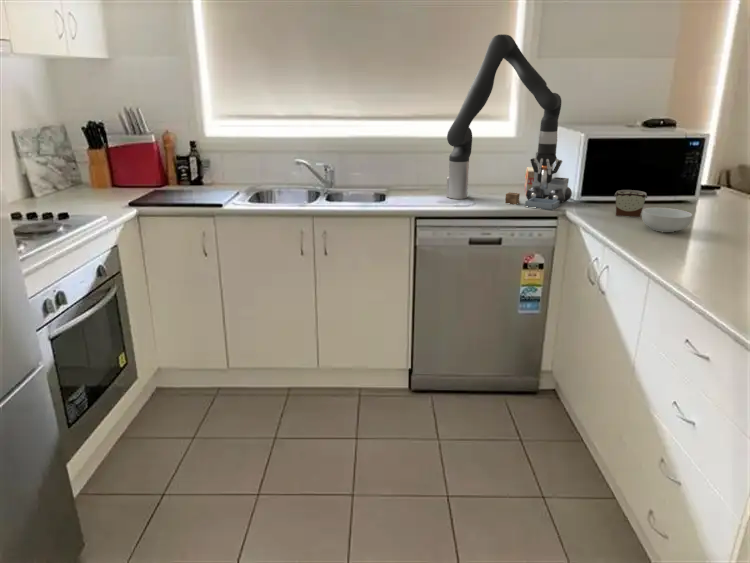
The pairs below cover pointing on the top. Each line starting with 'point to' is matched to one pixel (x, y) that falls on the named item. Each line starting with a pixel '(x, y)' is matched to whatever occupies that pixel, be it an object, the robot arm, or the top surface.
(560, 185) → the trolley
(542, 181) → the pin
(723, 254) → the top surface
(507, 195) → the block
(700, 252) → the top surface
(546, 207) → the tray
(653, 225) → the cereal bowl
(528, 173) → the stack of blocks
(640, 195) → the food container
